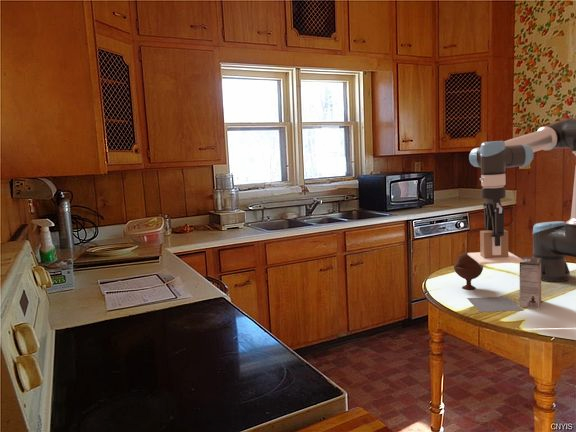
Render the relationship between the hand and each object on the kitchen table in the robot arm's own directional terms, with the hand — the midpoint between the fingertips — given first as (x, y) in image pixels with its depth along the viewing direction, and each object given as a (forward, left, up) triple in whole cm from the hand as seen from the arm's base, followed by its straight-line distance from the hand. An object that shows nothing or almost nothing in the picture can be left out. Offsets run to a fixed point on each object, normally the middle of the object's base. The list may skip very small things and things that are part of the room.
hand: (494, 253), depth 152 cm
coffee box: (-12, +1, -19) cm, 22 cm away
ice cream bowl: (+3, -19, -19) cm, 27 cm away
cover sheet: (0, 0, -2) cm, 2 cm away
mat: (0, 0, -19) cm, 19 cm away
